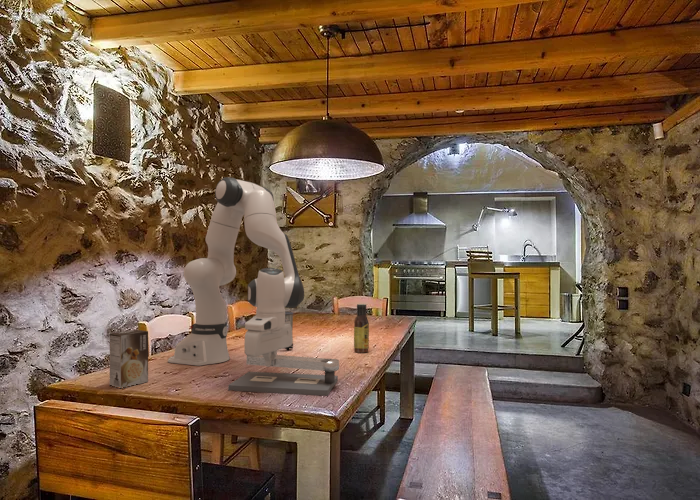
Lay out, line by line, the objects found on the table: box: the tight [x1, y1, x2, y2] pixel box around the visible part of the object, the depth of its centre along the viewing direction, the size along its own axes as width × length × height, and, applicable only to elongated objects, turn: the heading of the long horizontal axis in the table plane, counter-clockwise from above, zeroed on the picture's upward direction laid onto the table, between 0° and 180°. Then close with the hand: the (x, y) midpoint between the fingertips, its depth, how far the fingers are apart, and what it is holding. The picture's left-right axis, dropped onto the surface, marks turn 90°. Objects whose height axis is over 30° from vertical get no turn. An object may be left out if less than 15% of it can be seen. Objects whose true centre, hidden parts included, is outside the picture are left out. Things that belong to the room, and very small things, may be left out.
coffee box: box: [109, 329, 149, 388], centre depth 136 cm, size 9×6×16 cm
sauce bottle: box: [353, 303, 370, 354], centre depth 185 cm, size 7×6×20 cm
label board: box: [227, 371, 339, 397], centre depth 136 cm, size 30×16×5 cm, turn 81°
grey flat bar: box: [245, 354, 340, 372], centre depth 137 cm, size 30×6×2 cm, turn 73°
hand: (270, 366), depth 135 cm, fingers closed
